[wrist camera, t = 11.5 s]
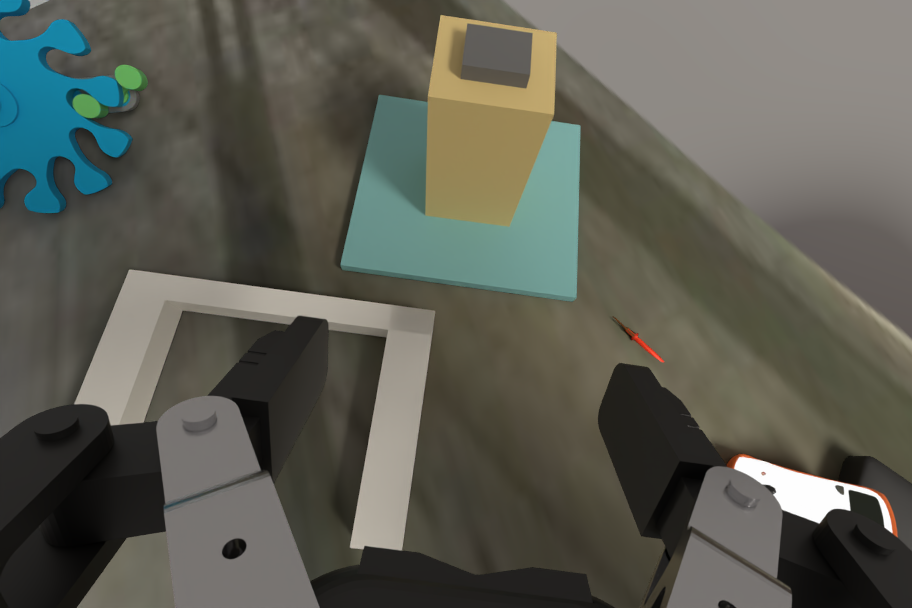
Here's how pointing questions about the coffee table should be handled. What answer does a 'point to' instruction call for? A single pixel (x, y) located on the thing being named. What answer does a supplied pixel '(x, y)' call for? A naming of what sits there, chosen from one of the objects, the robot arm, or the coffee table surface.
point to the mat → (455, 241)
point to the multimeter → (833, 487)
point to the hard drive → (36, 2)
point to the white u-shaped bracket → (165, 297)
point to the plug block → (486, 117)
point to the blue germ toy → (56, 111)
